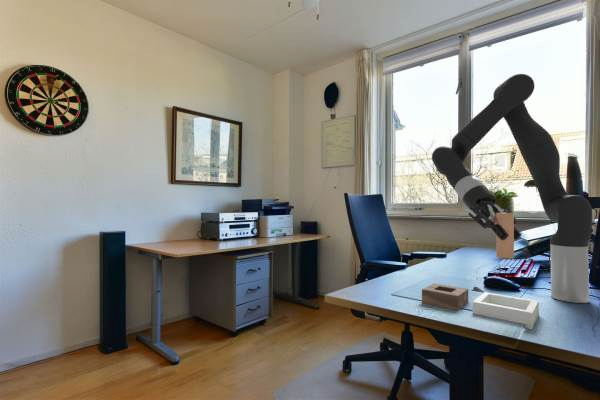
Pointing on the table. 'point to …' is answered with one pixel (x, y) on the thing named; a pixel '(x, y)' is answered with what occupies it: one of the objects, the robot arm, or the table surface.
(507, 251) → the tan rectangular block
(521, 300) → the tray
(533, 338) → the table surface
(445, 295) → the socket block
